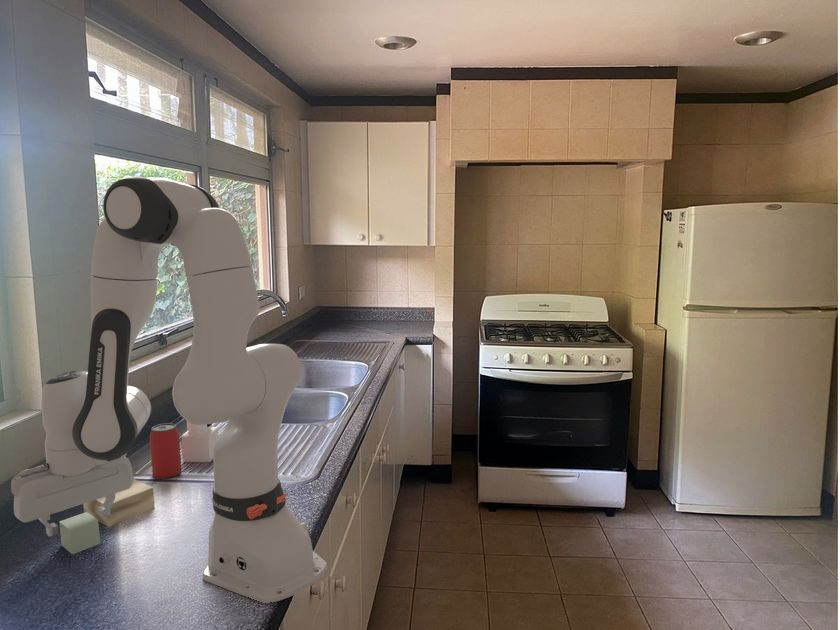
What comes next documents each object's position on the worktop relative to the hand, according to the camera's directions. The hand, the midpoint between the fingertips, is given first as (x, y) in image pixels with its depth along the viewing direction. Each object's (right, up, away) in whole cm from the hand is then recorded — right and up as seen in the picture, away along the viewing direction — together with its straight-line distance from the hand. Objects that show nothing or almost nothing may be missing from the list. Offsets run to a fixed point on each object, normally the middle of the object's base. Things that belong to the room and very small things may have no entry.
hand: (79, 524), depth 118 cm
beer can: (+4, +1, +32) cm, 32 cm away
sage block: (0, -4, 0) cm, 4 cm away
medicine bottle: (+8, +3, +42) cm, 43 cm away
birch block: (+1, -2, +13) cm, 14 cm away
